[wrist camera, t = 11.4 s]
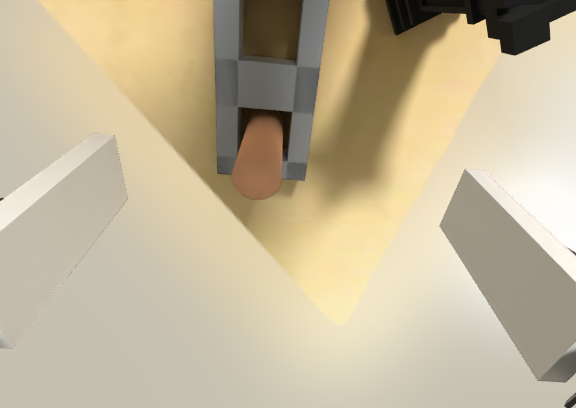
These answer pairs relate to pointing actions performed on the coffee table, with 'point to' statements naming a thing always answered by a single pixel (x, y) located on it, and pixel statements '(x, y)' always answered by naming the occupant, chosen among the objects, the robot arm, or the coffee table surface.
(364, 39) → the coffee table surface
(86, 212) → the robot arm
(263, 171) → the dowel
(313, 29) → the socket board
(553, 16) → the chess piece
